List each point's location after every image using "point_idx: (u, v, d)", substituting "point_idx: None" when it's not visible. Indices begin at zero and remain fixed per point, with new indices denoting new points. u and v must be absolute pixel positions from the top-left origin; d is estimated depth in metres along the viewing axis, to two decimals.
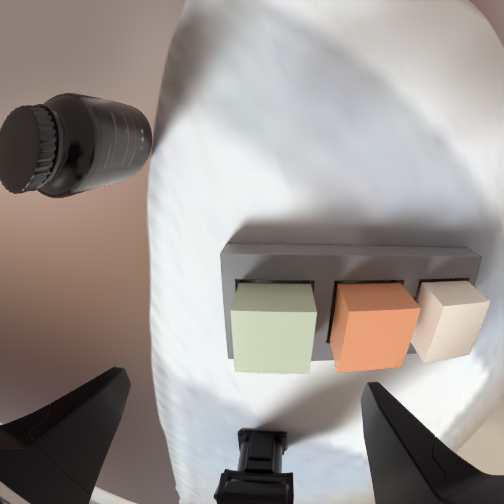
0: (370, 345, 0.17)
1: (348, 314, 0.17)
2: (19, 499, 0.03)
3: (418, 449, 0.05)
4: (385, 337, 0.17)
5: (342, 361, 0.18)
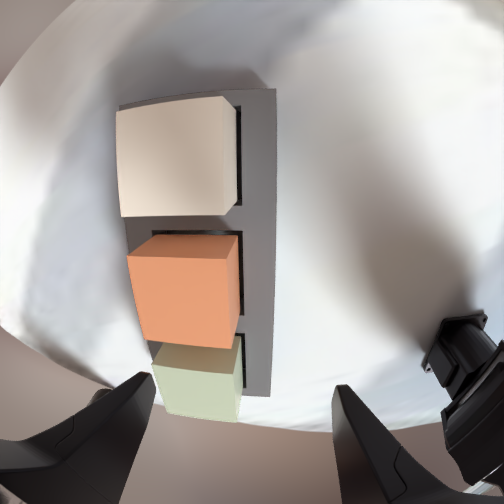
0: (184, 314, 0.14)
1: (148, 338, 0.15)
2: None
3: (380, 458, 0.05)
4: (169, 298, 0.14)
5: (211, 343, 0.15)
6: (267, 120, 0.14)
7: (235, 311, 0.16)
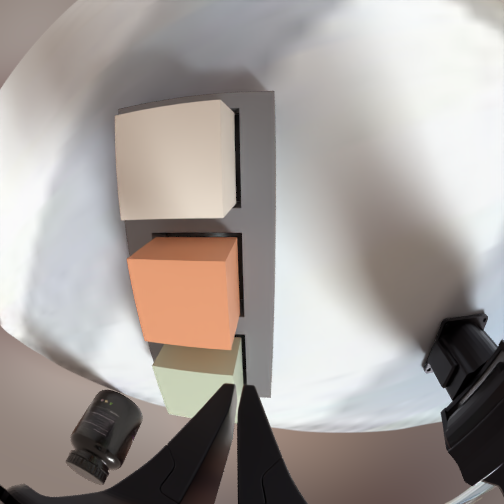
0: (184, 316, 0.14)
1: (149, 340, 0.15)
2: None
3: (255, 466, 0.05)
4: (169, 300, 0.14)
5: (211, 345, 0.15)
6: (266, 122, 0.14)
7: (235, 313, 0.16)
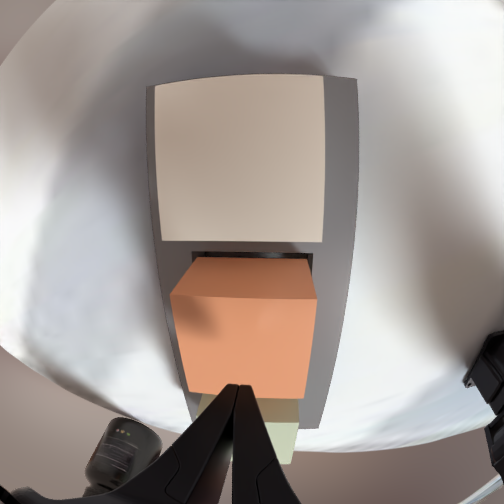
0: (249, 366, 0.11)
1: (195, 390, 0.12)
2: None
3: (250, 465, 0.05)
4: (231, 348, 0.11)
5: (280, 394, 0.11)
6: (348, 116, 0.11)
7: None
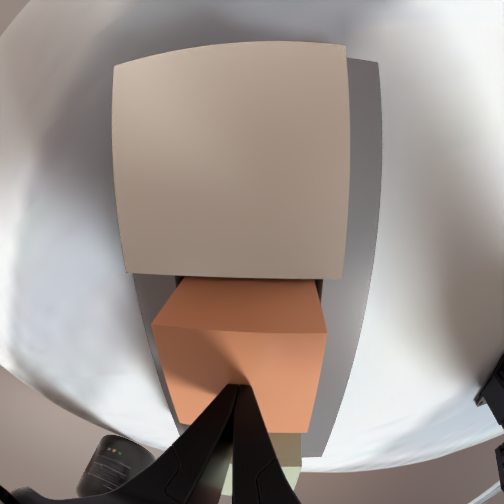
0: None
1: None
2: None
3: (250, 465, 0.05)
4: (225, 383, 0.09)
5: (280, 429, 0.09)
6: (369, 107, 0.08)
7: None
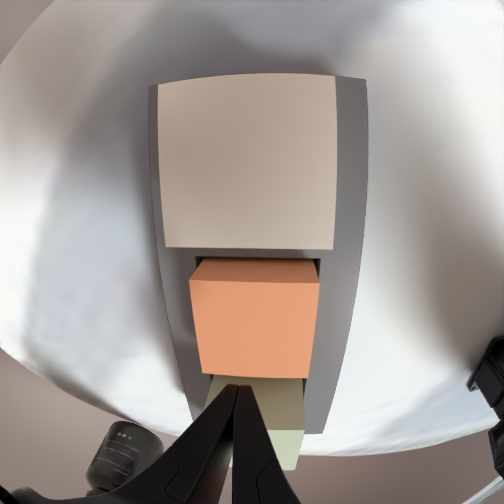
0: (259, 346, 0.12)
1: (207, 372, 0.13)
2: None
3: (250, 466, 0.05)
4: (243, 328, 0.12)
5: (286, 374, 0.13)
6: (357, 118, 0.10)
7: None
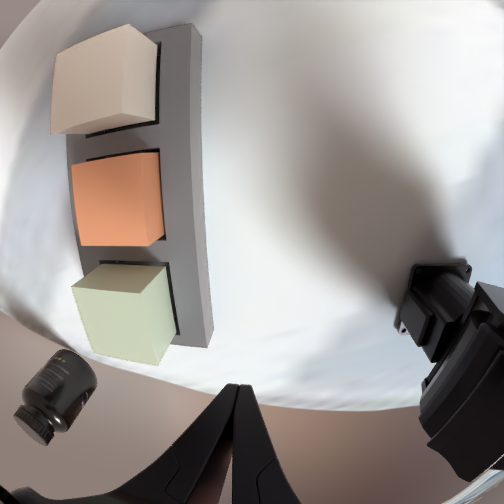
0: (110, 212, 0.15)
1: (84, 245, 0.16)
2: None
3: (249, 465, 0.05)
4: (99, 197, 0.15)
5: (132, 242, 0.15)
6: (183, 48, 0.13)
7: (160, 217, 0.17)
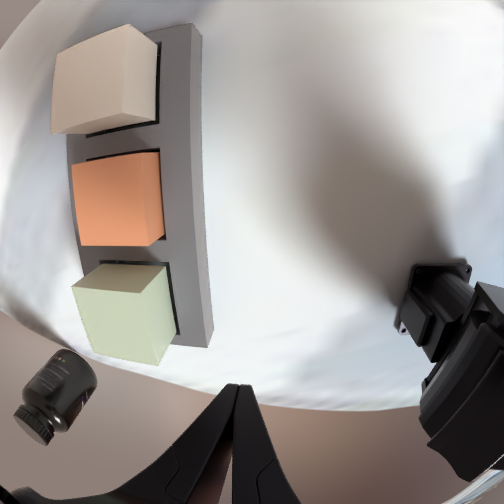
0: (110, 212, 0.15)
1: (84, 244, 0.16)
2: None
3: (250, 465, 0.05)
4: (99, 197, 0.15)
5: (132, 241, 0.15)
6: (183, 48, 0.13)
7: (160, 217, 0.17)
